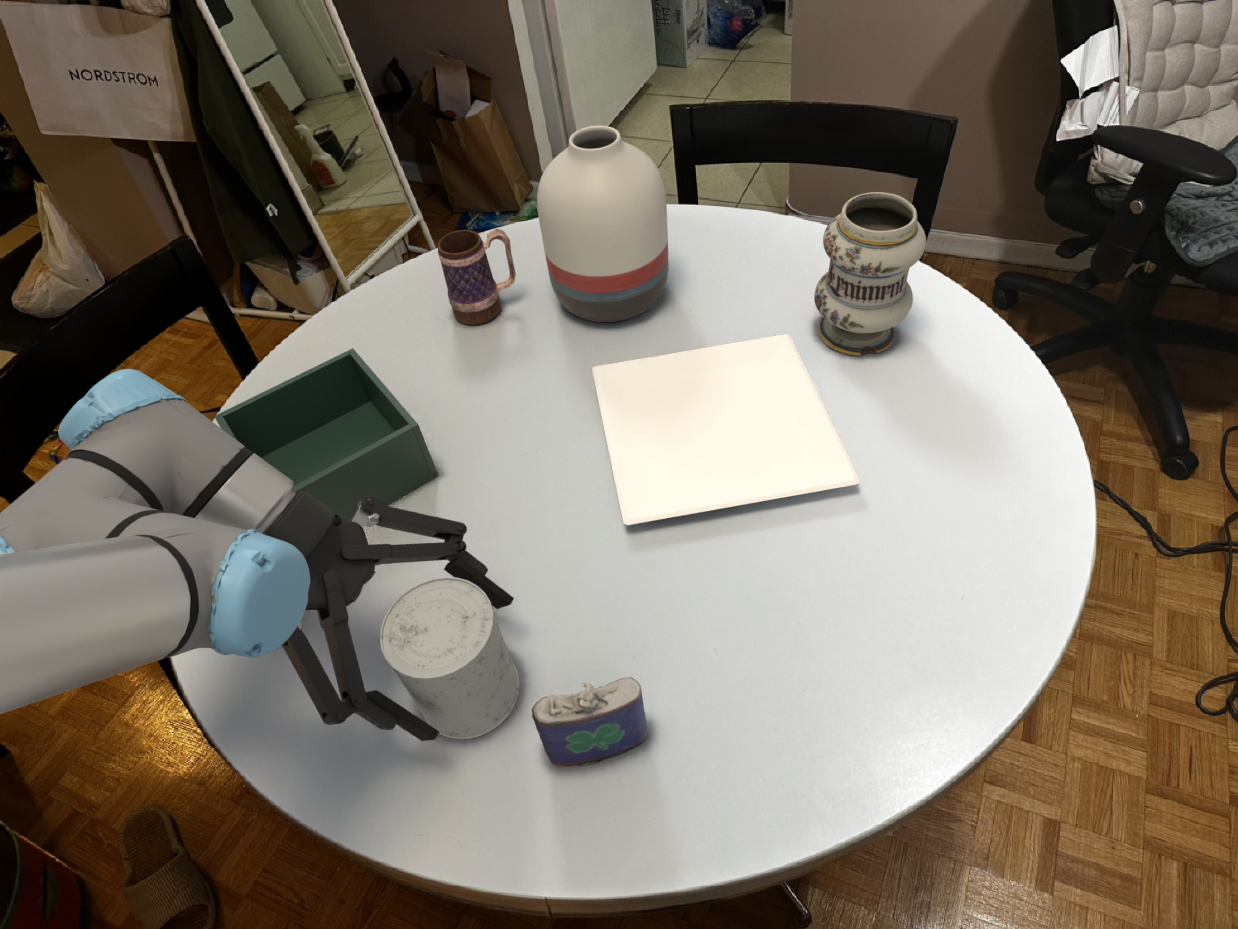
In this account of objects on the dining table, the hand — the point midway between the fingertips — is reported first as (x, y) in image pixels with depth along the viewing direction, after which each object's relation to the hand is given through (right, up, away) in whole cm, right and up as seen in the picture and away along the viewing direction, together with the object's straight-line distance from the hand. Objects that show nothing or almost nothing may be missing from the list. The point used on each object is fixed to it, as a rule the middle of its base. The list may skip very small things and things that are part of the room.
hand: (470, 666), depth 70 cm
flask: (+11, -7, 0) cm, 13 cm away
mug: (-6, +41, +44) cm, 60 cm away
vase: (+12, +42, +44) cm, 62 cm away
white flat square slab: (+25, +22, +24) cm, 41 cm away
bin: (-20, +17, +25) cm, 37 cm away
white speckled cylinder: (-1, -4, +5) cm, 6 cm away
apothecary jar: (+45, +36, +34) cm, 66 cm away
